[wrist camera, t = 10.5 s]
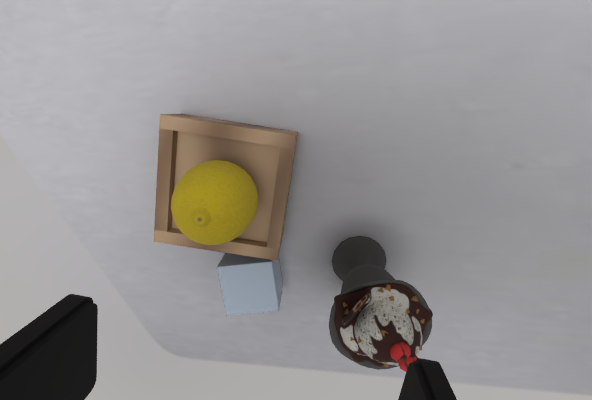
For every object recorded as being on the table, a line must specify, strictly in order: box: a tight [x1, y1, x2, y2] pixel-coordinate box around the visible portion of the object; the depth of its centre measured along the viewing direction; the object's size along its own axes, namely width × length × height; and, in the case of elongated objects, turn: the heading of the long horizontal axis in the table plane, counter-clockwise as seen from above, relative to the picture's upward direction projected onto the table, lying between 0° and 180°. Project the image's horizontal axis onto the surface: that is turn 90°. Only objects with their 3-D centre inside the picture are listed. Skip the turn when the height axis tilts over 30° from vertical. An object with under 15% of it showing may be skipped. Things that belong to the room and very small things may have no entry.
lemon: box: [171, 160, 258, 245], centre depth 24 cm, size 6×6×8 cm
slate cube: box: [217, 253, 283, 316], centre depth 31 cm, size 4×4×4 cm
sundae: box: [329, 236, 433, 372], centre depth 25 cm, size 7×7×15 cm
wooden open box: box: [154, 114, 298, 261], centre depth 29 cm, size 10×10×4 cm
